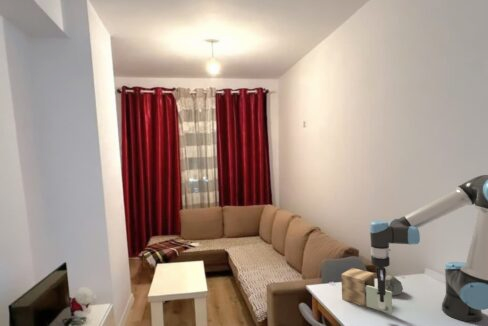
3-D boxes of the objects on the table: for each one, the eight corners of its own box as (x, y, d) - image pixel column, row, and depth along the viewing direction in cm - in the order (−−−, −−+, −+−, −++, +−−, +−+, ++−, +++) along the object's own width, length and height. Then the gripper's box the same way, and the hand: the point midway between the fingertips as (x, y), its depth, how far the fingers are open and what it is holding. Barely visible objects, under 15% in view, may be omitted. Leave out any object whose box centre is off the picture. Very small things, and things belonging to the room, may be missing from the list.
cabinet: (375, 298, 158) (374, 273, 158) (364, 306, 150) (363, 280, 150) (353, 291, 167) (352, 267, 166) (342, 299, 158) (341, 274, 158)
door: (390, 315, 139) (389, 293, 139) (363, 306, 148) (363, 286, 148) (392, 313, 141) (391, 291, 141) (365, 304, 150) (365, 284, 149)
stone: (396, 277, 158) (390, 270, 168) (380, 289, 160) (376, 281, 170) (409, 292, 157) (402, 283, 167) (393, 303, 159) (388, 294, 169)
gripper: (391, 261, 130) (392, 316, 130) (387, 251, 142) (389, 302, 143) (371, 260, 132) (373, 313, 133) (370, 250, 145) (372, 300, 145)
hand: (381, 307), depth 138 cm, fingers closed
